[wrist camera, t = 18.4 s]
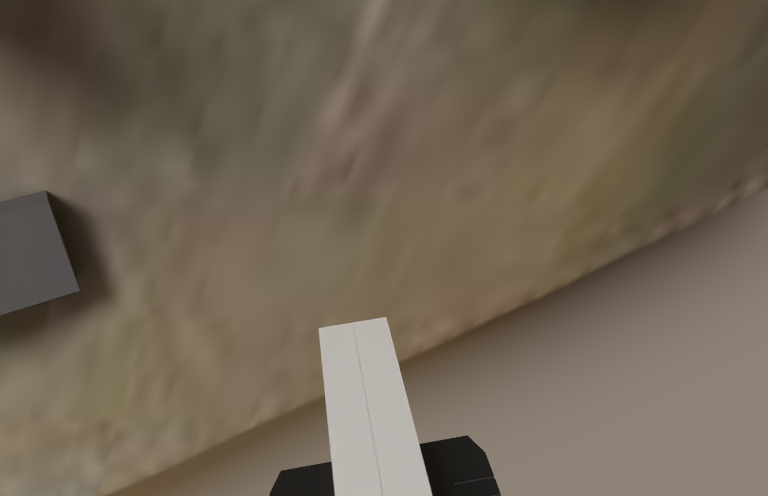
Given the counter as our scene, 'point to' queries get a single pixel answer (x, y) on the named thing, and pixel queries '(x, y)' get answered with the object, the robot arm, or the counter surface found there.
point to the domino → (32, 254)
